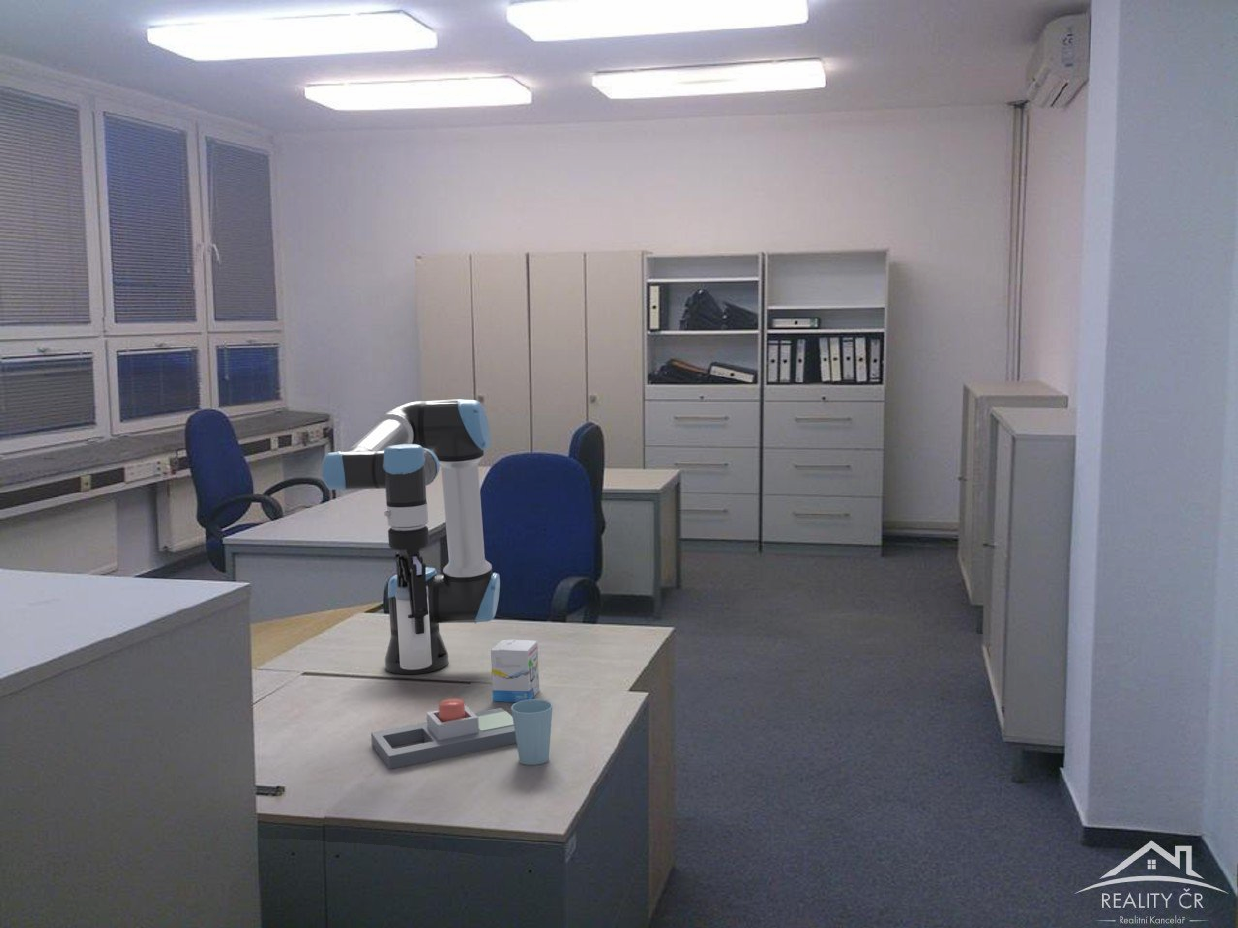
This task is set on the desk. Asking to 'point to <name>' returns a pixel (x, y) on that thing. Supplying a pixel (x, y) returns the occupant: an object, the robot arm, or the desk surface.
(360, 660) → the desk surface
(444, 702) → the plunger
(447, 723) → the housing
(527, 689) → the ink box
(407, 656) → the cartridge
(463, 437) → the robot arm
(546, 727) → the cup
